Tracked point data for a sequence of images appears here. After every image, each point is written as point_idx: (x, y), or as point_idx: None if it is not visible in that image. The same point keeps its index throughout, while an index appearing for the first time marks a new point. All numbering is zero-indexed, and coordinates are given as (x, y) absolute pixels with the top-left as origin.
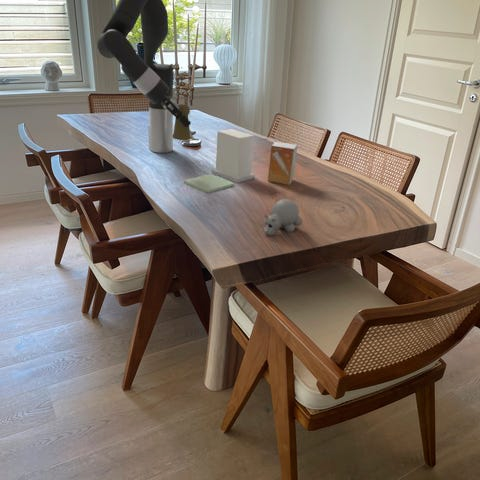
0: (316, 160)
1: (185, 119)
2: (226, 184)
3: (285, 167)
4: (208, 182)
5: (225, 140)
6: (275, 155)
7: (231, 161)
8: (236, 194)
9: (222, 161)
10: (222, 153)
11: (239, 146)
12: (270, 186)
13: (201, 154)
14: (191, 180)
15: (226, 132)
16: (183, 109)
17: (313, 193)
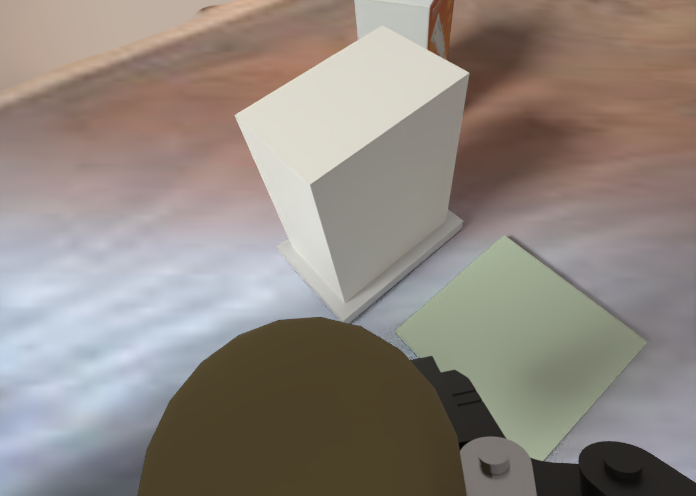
0: (199, 27)
1: (492, 416)
2: (528, 262)
3: (445, 47)
4: (526, 338)
5: (378, 169)
6: (435, 34)
7: (419, 206)
8: (605, 232)
9: (374, 251)
10: (368, 231)
11: (461, 114)
12: (473, 132)
13: (52, 377)
14: (521, 426)
15: (338, 136)
16: (453, 434)
17: (504, 43)
